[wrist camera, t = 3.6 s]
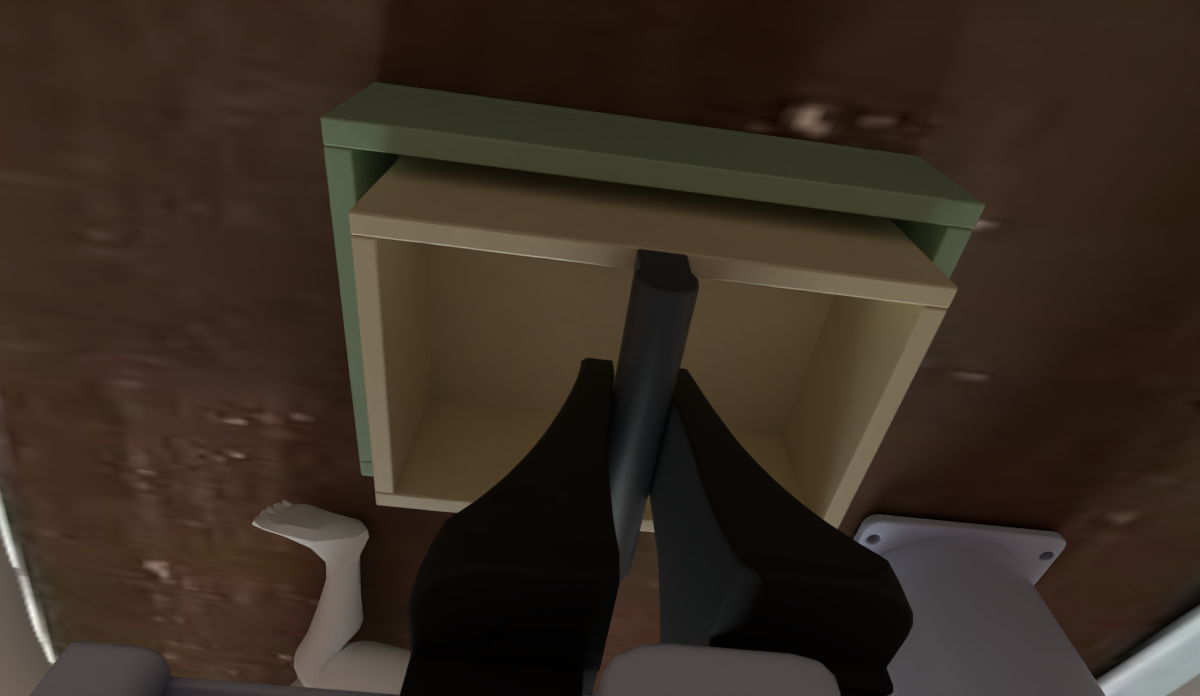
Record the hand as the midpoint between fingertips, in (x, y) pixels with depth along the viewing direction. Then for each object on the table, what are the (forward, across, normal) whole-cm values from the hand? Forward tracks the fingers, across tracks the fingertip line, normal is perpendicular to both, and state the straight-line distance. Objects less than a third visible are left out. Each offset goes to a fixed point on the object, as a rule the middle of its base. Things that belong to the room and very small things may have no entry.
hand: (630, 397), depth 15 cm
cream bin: (+4, 0, 0) cm, 4 cm away
